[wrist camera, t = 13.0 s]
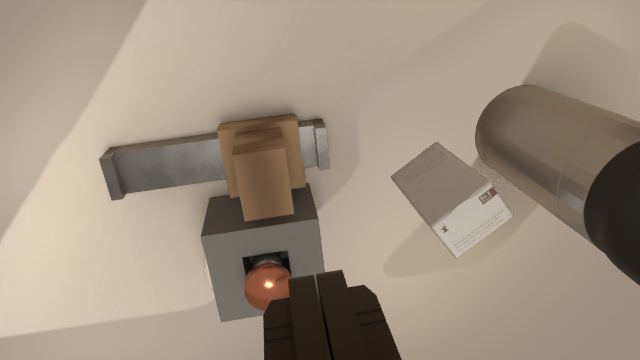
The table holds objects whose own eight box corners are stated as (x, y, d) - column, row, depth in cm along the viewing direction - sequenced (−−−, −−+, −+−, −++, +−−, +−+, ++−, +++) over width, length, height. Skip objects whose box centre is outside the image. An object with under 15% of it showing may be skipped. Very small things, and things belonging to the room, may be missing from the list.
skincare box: (411, 203, 50) (456, 265, 39) (387, 174, 48) (427, 229, 37) (458, 167, 49) (518, 220, 38) (436, 136, 47) (491, 181, 36)
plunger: (284, 225, 45) (289, 266, 38) (290, 261, 46) (295, 306, 40) (242, 232, 44) (240, 274, 38) (249, 267, 46) (248, 314, 39)
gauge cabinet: (308, 183, 47) (318, 218, 40) (318, 258, 51) (328, 304, 43) (205, 198, 47) (196, 237, 39) (222, 274, 50) (216, 322, 43)
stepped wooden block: (294, 110, 44) (303, 140, 35) (302, 173, 46) (313, 215, 38) (219, 120, 43) (210, 153, 35) (232, 183, 46) (226, 228, 37)
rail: (321, 118, 45) (325, 127, 42) (325, 157, 46) (330, 168, 44) (109, 147, 43) (98, 159, 40) (121, 186, 45) (111, 200, 42)
